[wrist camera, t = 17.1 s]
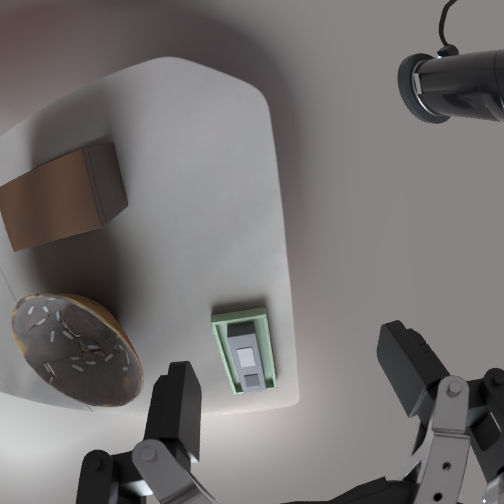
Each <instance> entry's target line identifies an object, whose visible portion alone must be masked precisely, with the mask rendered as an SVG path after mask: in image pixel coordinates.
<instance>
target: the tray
mask: <svg viewBox="0 0 504 504" xmlns="http://www.w3.org/2000/svg"><path fill="white" fill-rule="evenodd" d="M253 321H254V325H255V330H256V335H257V340H258V346H259V351H260V356H261V361H262V366H263V371H264V376H265V382H266V389H267V390H270V389H276V388H277V382H276V375H275V369H274V362H273V355H272V348H271V342H270V335H269V328H268V322H267V315H266V310H265V307H260V308H254V309H248V310H242V311H236V312H229V313H222V314H216V315H211V325H212V329H213V332H214V335H215V338H216V342H217V345H218V348H219V351H220V354H221V357H222V360H223V363H224V366H225V369H226V372H227V375H228V378H229V381H230V384H231V387H232V390H233V393H234V395H235V394H243V390H242V387H241V384H240V380H239V377H238V374H237V370H236V367H235V363H234V360H233V357H232V353H231V350H230V346H229V343H228V339H227V325H234V324H240V323H247V322H253ZM262 391H264V390H262ZM256 392H257V391H256ZM249 393H250V392H249Z"/></svg>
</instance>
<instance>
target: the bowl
mask: <svg viewBox="0 0 504 504" xmlns="http://www.w3.org/2000/svg"><path fill="white" fill-rule="evenodd" d="M60 312H61V314H62V316H63V318H64V321H65V322H66V323H67V326H68V327H69V329H70V330H71V331H72V332H73V334H75V335H81V336H80V337H76V336H75V335H73V334H72V333H71V332H70V331H69V330H68V329H66V328H65V327H64V326H63V324H62V321H61V319H60ZM12 331H13V336H14V338H15V341H16V343H17V345H18V347H19V349H20V351H21V353H22V355H23V356H24V358H25V359H26V361H27V362H28V363H29V365H30V366H31V367H32V368H33V369H34V370H35V371H36V373H37V374H38V375H39V376H40V377H41V378H42V379H43V380H44V381H46V382H47V383H48V384H49V385H50V386H52V387H53V388H55V389H56V390H58V391H59V392H61V393H62V394H64V395H66V396H68V397H70V398H72V399H74V400H76V401H78V402H82V403H85V404H89V405H92V406H100V407H117V406H123V405H126V404H128V403H130V402H131V401H133V400H134V399H136V398H137V397H138V396H139V395H140V393H141V391H142V388H143V370H142V367H141V365H140V362H139V358H138V356H137V354H136V352H135V350H134V348H133V346H132V344H131V342H130V341H129V339H128V337H127V335H126V334H125V332H124V330H123V329H122V327H121V326H120V324H119V323H118V322H117V320H116V319H115V318H114V316H113V315H112V314H111V313H110V312H109V311H108V310H107V309H106V308H105V307H104V306H103V305H101V304H99V303H98V302H96V301H95V300H93V299H91V298H88V297H85V296H80V295H76V294H71V293H40V294H36V295H31V296H26V297H24V298H22V299H21V300H20V301H19V302H18V304H17V306H16V307H15V309H14V310H13V313H12ZM43 360H44V361H43ZM47 363H49V365H50V367H51V368H52V370H53V371H54V375H53V373H52V371H51V369H50V368H49V367H48V365H47Z"/></svg>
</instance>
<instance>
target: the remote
mask: <svg viewBox="0 0 504 504" xmlns="http://www.w3.org/2000/svg"><path fill="white" fill-rule="evenodd" d="M227 339H228V343H229V346H230V350H231V353H232V357H233V360H234V363H235V367H236V370H237V374H238V377H239V380H240V384H241V387H242V390H243V393H249V392H256V391H262V390H267V389H266V382H265V376H264V371H263V366H262V361H261V356H260V351H259V346H258V340H257V335H256V330H255V325H254V321H253V322H247V323H240V324H234V325H227Z"/></svg>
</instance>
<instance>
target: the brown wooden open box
mask: <svg viewBox="0 0 504 504" xmlns="http://www.w3.org/2000/svg"><path fill="white" fill-rule="evenodd" d="M127 206H128V203H127V199H126V195H125V191H124V187H123V183H122V179H121V175H120V170H119V166H118V161H117V156H116V151H115V146H114V143H110V144H103V145H98V146H92V147H87V148H82V149H79V150H77V151H74V152H72V153H69V154H67V155H64V156H62V157H60V158H57V159H55V160H53V161H50V162H48V163H46V164H44V165H42V166H40V167H38V168H35V169H33V170H31V171H29V172H27V173H25V174H23V175H21V176H19V177H18V178H16V179H14V180H12V181H10V182H8V183H6V184H5V185H3V186H1V187H0V211H1V215H2V218H3V221H4V224H5V228H6V231H7V234H8V237H9V239H10V242H11V245H12V248H13V250H14V252H17V251H20V250H23V249H27V248H30V247H33V246H37V245H40V244H44V243H47V242H51V241H54V240H58V239H61V238H65V237H69V236H73V235H76V234H80V233H84V232H88V231H92V230H96V229H100V228H103V227H104V226H105V225H106V224H107V223H108V222H110V221H111V220H112V219H113V218H114V217H115V216H117V215H118V214H119V213H120V212H121V211H122V210H124V209H125V208H126V207H127Z"/></svg>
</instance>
